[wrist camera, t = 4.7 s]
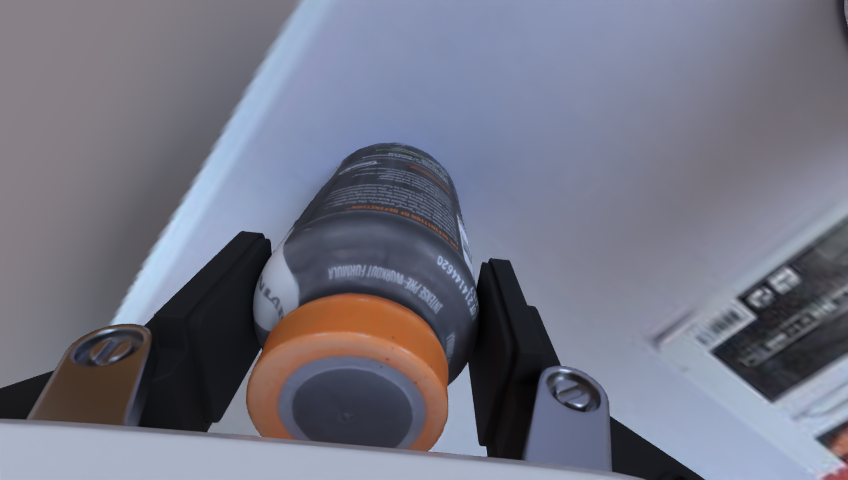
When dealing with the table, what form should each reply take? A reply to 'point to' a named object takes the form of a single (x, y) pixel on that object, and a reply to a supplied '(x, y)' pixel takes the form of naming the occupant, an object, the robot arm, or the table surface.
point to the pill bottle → (367, 308)
